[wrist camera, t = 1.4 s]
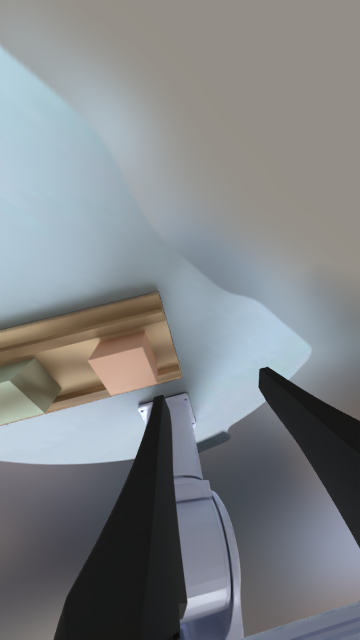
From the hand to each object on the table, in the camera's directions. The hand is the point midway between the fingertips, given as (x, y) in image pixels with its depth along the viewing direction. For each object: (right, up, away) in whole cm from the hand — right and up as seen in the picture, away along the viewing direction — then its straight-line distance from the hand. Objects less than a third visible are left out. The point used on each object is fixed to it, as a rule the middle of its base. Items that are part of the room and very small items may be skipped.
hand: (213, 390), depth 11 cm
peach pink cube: (-8, +1, +6) cm, 10 cm away
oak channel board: (-16, 0, +7) cm, 18 cm away
